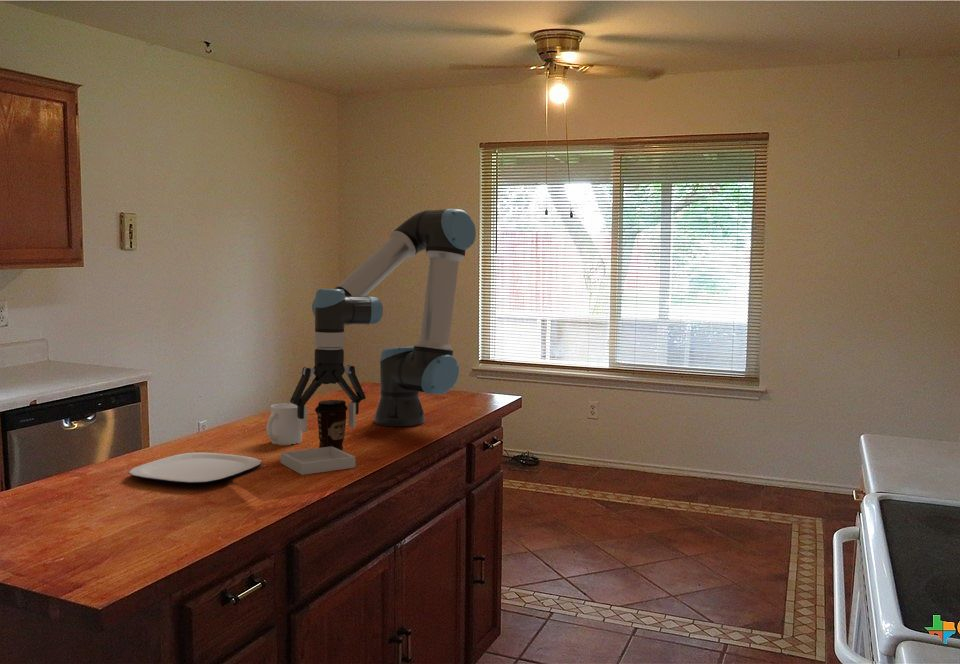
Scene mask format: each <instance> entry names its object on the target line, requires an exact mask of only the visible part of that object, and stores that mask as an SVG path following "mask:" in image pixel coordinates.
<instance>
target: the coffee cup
mask: <svg viewBox="0 0 960 664" xmlns="http://www.w3.org/2000/svg"><path fill="white" fill-rule="evenodd" d="M346 404H347V402H346V401H345V400H341V399H340V400H339V399H329V400H328V399H326V400H321V401H319V402H318V404H317V406H316V407H315V408H314V411H315V413H316V415H317V424H318V425H317V426H318V427H317V428H318V439H319V446H318V448H322V447H330V446H332V447H335V448H337V449H339V450H341V451H344V446H343V443H344V439H345V436H346V434H345V433H346V425H347V411H348V410H349V407H348V406H346Z"/></svg>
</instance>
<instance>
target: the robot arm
mask: <svg viewBox="0 0 960 664" xmlns="http://www.w3.org/2000/svg"><path fill="white" fill-rule="evenodd" d="M476 229H477V228H476V226H475V223H474V220H473V219H472V216H471V215H470V214H469V213H467V211H465V210H463V209H459V208H446V209H435V210H434V209H432V210H431V209H429V210H427V209H426V210H423V211H422V210H421V211H419V212H418V213H415V214H414V215H412V216H411V217H409V218H407V220H405V221H403V223H401V224H400V225H399V226H397V227H396V228H395V229H394V230H393V231H392V232H391V233H389V239H388V240H387V241H386V242H385V243H384V244H383V245H381V246H380V247H378V249H377V250H376V251H375V252H374V253H372V255H370V256H369V257H368V258H367V259H366V260H365V261H363V262H362V263H361V264H360V265H359V266H358V267H357V268H355V269H354V271H352V272H351V273H350V274H349V275H348V276H347V277H345V279H343V280H342V281H341V282H340V283H339V284H338V285H337V286H336V287H334V288H319V289H317V290H316V292H315V296H314V297H315V298H314V299H313V301H312V305H311V310H312V313H313V315H314V346H315V347H316V348H315V350H314V366H313V368H312V367H306V366H304V367H303V368H302V371H301V376H300V379H299V381H298V383H297V384H296V387H295V389H294V392H293V393H292V396H291V398H290V400H289V403H292V404H295V405H297V417H298V418H299V419H301V424H300V430H301V431H302V433H307V432H308V408H309V407H308V406H307V405H306V404H307V403H308V401H309V400H310V399H311V398H312V396H313V395H314V394H315V392H316V391H317V390H318V388H319V387H320V386H322V385H330V384H333V385H335V384H338V385H339V387H340V388H341V389H342V390H343V391H344V393H345V394H346V395H347V396H348V397H349V399H350V400H351V401H348V427H351V428H357V427H356V425H357V424H356V423H357V422H356V421H357V419H356V418H357V416H356V415H359V412H360V411H359V410H360V409H359V405H360V403H361V401H364V400H366V398H367V397H366V394H365V391H364V390H363V388H362V386H361V383H360V381H359V379H358V376H357V374H356V367H355V366H354V365H350V364H348V365H347V366H344V362H345V360H344V359H345V350H344V349H343V348H344V347H345V325H346V326H348V325H366V326H367V325H368V326H369V325H373V324H377V323H379V322H380V321H381V319H383V314H384V307H383V303H382V302H381V299H380V298H378V297H376V296H371V295H370V296H369V294H370V292H371V291H373V290H374V289H375V288H376V287H378V285H379V284H380V283H381V282H383V281H384V280H385V279H386V278H387V277H388V276H389V275H390V274H391V273H393V271H394V270H395V269H397V268H398V267H399V266H400V265H401V264H402V263H403V262H404V261H405V260H406V259H411V258H413V257H415V256H416V255H417V254H418V253H420V252H423V251H425V254H426V256H427V257H428V259H429V264H428V269H427V270H428V272H427V277H426V278H427V280H426V287H425V289H426V290H425V295H424V303H423V312H422V321H421V328H420V329H421V330H420V335H419V336H420V337H419V340H418V341H417V342H416V343H415V344H413V346H402V347H390V348H384V349H382V351H381V352H380V360H379V365H380V366H379V367H380V368H379V373H380V375H379V376H380V380H379V381H380V384H379V385H380V396H379V397H380V398H379V400H378V404H377V407H376V411H375V413H374V423H375V424H376V425H380V426H385V427H414V426H419V425H421V424H424V423H425V412H424V409H423V406H422V402H421V399H420V395H419V394H420V393H423V394H424V393H425V394H427V395H444V394H447V393H448V392H450V391H451V389H453V388H454V387H455V386H456V385H455V384H456V383H457V381H458V378H459V376H460V374H459V373H460V365H459V364H458V361H457V359H456V357H454V348H453V347H452V345H450V338H451V330H452V323H453V322H452V321H453V315H454V314H453V313H454V306H455V305H454V304H455V296H456V289H457V282H458V271H459V265H460V262H461V261H463V260H464V259H465V257H466V250H468V249H470V248H471V247H472V245H474V242H475V241H476V237H477V231H476ZM313 374H314V376H315V377H314V378H313V380H312V381H311V383H310V385H309V386H308V387H307V385H308V383H309V380H310V377H312V375H313ZM344 374H346V375H347V377H348V379H349V381H350V384H351V386H352V388H353V389H352V388H351V387H350V385H349V384H348V383H347V382H346V380H345V379H344V378H343V375H344ZM306 387H307V388H306Z"/></svg>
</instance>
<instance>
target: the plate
mask: <svg viewBox="0 0 960 664" xmlns="http://www.w3.org/2000/svg"><path fill="white" fill-rule="evenodd" d="M262 462H263V461H262V460H261V459H258V458H256V457H250V456H245V455H238V454H227V453H221V452H220V453H219V452H218V453H217V452H216V453H215V452H205V451H203V452H186V453H180V454H175V455H170V456H166V457H164V458H160V459H157V460H153V461H150V462H147V463H143V464H140V465H138V466H136V467H133V468H131V469H130V471H128V474H129V475H130V476H132V477H134V478H141V479H146V480H152V481H160V482H167V483H168V482H169V483H177V484H206V483H213V482H218V481H221V480H225V479H228V478H232V477H235V476H238V475H240V474H242V473H245V472H248V471H251V470H253V469H255V468H256V467H258V466H260V465H261V464H262Z"/></svg>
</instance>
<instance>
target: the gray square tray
mask: <svg viewBox="0 0 960 664" xmlns="http://www.w3.org/2000/svg"><path fill="white" fill-rule="evenodd" d="M280 464H281V465H284V466H285V467H287V468H289V469H291V470H293V471H295V472H296V473H298V474H299V475H301V476H304V475H312V474H319V473H325V472H333V471H338V470H346V469H348V470H349V469H353V468H356V456H355V455H352V454H351V453H348V452H346V451H344V450H342V451H341V450H339V449H337V448H335V447H332V446H330V447H322V448H319V447H315V448H307V449H299V450H292V451H291V450H290V451H283V452H280Z"/></svg>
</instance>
